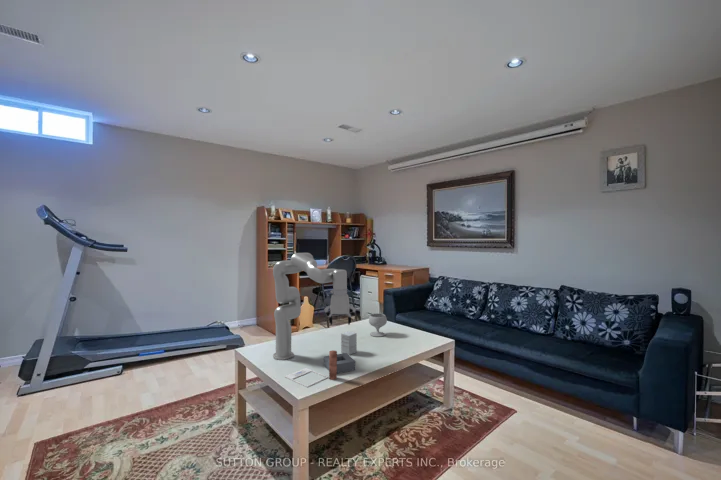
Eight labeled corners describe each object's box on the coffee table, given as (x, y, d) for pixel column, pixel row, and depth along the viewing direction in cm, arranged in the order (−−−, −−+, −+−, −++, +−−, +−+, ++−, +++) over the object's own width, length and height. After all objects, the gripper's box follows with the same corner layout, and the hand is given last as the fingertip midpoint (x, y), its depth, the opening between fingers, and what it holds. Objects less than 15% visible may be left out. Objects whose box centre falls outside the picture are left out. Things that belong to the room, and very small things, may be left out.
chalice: (367, 332, 249) (367, 313, 249) (384, 331, 251) (384, 312, 251) (370, 337, 235) (370, 317, 235) (388, 337, 238) (389, 317, 238)
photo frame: (305, 367, 178) (328, 376, 167) (305, 369, 178) (328, 378, 167) (284, 375, 167) (307, 386, 155) (284, 378, 167) (307, 388, 155)
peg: (328, 377, 167) (328, 351, 167) (335, 376, 169) (335, 350, 169) (330, 380, 163) (330, 353, 163) (337, 379, 165) (338, 352, 165)
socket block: (323, 364, 184) (323, 356, 184) (346, 361, 189) (346, 352, 189) (331, 374, 171) (331, 365, 171) (355, 370, 177) (355, 361, 177)
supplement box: (348, 349, 209) (348, 330, 209) (356, 352, 205) (357, 332, 205) (340, 352, 204) (340, 333, 204) (349, 355, 199) (349, 335, 199)
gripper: (323, 293, 167) (323, 326, 167) (355, 293, 167) (355, 325, 167) (325, 291, 175) (325, 322, 175) (356, 291, 174) (356, 322, 174)
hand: (340, 324), depth 171 cm, fingers open, 9 cm apart
